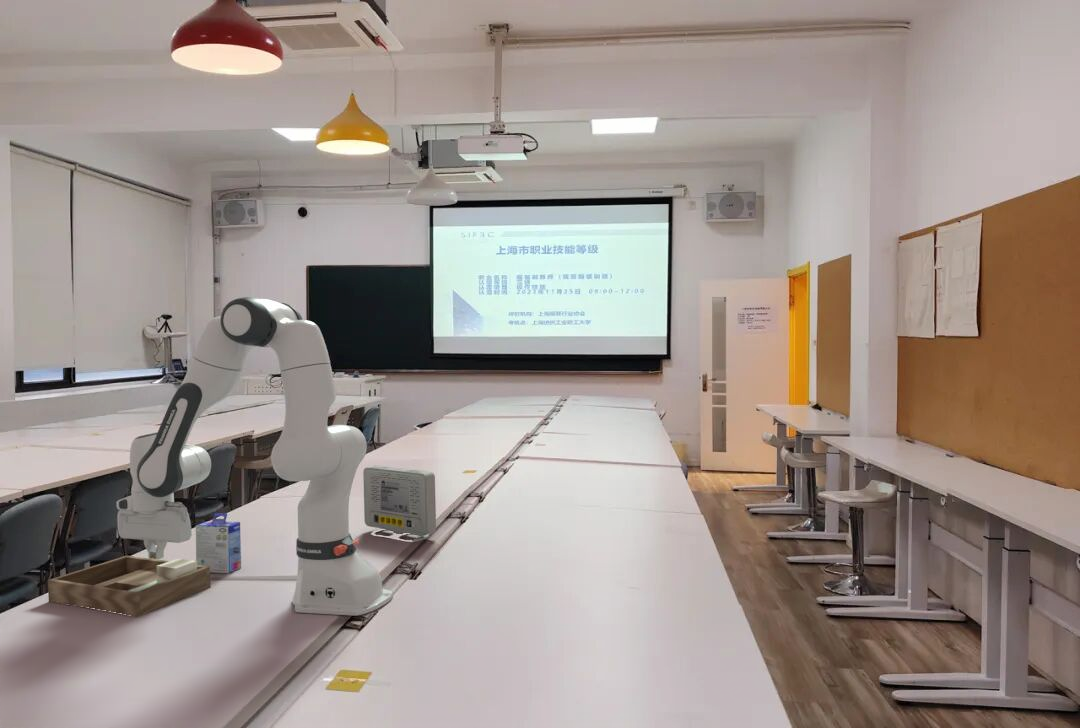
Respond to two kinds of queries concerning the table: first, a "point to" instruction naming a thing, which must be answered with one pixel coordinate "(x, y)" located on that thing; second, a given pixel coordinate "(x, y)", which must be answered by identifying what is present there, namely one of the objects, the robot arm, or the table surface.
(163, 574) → the block
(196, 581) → the box
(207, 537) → the ink cartridge box
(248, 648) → the table surface
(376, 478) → the network device
